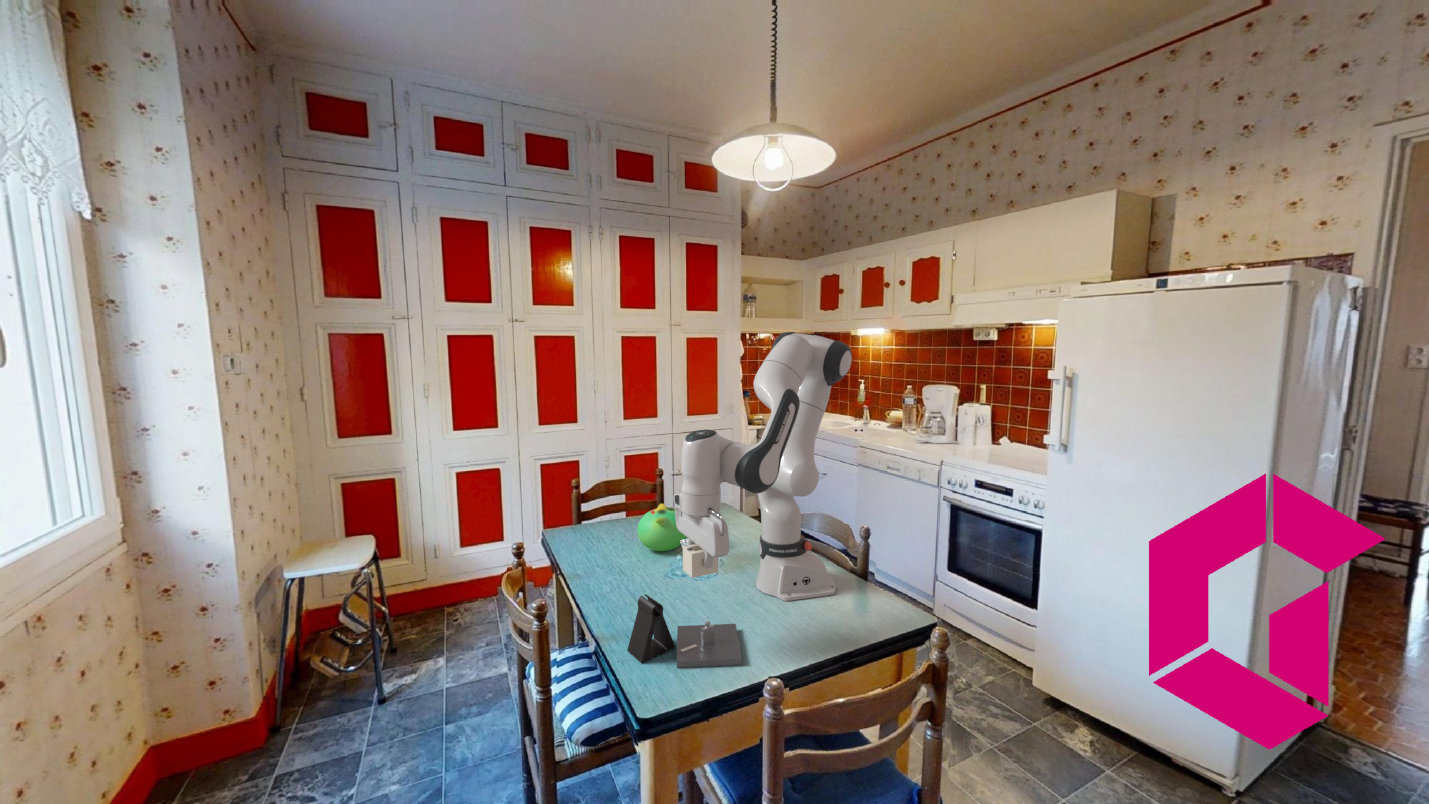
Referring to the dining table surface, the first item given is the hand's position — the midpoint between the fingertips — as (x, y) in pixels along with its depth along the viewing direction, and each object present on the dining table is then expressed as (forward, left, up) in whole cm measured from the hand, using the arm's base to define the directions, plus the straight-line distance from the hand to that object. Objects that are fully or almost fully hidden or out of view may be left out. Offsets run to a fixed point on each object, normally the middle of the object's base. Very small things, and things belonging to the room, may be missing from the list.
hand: (701, 561), depth 118 cm
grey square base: (-1, +2, -20) cm, 20 cm away
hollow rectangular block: (0, 0, -2) cm, 2 cm away
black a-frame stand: (+12, +2, -20) cm, 23 cm away
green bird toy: (+11, -56, -20) cm, 60 cm away
